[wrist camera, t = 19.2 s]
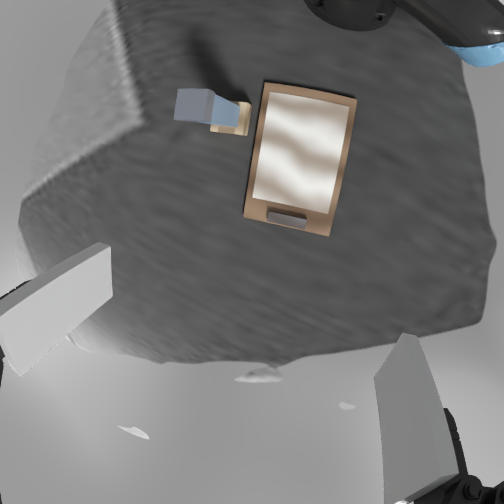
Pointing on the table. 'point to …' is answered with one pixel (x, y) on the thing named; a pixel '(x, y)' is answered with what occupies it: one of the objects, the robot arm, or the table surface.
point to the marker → (205, 108)
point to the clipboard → (299, 157)
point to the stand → (242, 122)
